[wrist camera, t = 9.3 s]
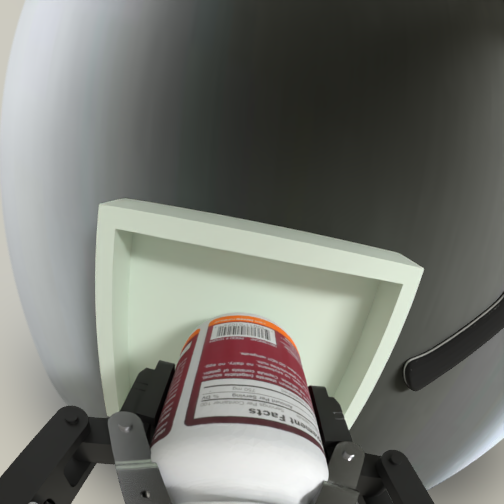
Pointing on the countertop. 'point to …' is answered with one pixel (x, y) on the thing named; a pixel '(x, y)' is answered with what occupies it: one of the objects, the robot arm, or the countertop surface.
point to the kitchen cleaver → (454, 348)
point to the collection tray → (243, 294)
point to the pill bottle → (239, 418)
